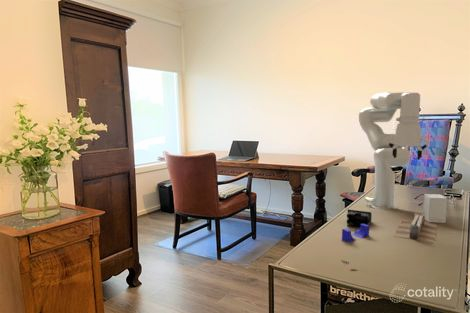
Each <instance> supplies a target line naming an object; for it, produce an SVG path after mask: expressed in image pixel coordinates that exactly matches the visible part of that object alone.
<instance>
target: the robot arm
mask: <svg viewBox="0 0 470 313" xmlns="http://www.w3.org/2000/svg"><path fill="white" fill-rule="evenodd" d="M420 104H421V94H420V93H419V92H403V91H401V92H400V91H399V92H389V91H387V92H379V93H378V92H377V93H376V94H374V95H372V96H371V98H370V105H371V107H365V108H363V109H361V110H360V112H359V114H358V122H359V126H360V127H361V129H362V131H364V134H365V135H366V136H367V139H368V141H369V144H370V146H371V148H372V149H373V151H374V152H373V162H374V189H373V190H374V194H373V197H372V198H371V197H365V202H367V203H370V208H373V209H377V210H384V211H386V210H387V211H389V210H391V209H393V210H394V209H396V210H397V208H398V206H397V205H396V204H394V202H395V200H394V199H395V181H396V180H395V178H396V177H395V173H394V171H393V170H392V168H391V167H405V166H408V165H409V164H410V163H411V160H412V159H411V158H412V157H411V152H410V150H409V148H408V147H416V148H417V149H418V150H417V158H416V159H417V160H418V161H419V160H421V159H422V157H423V150H424V149H427V147H428V145H429V144H430V142H431V141H430V139H427V138H425V137H423V136H422V130H421V129H422V128H421V123H420V122H419V121H420V120H419V118H420V107H421V105H420ZM398 110H400V111H399V117H396V118H395V119H396V120H395V121H396V122H399V123H397V124H396V129H395V133H385V132H384V131H383V129H382V127H381V126H380V125H379V124H377V123H389V122H390V121H392V119H393V118H394V116H395V114H396V112H397V111H398ZM421 142H424V145H421Z"/></svg>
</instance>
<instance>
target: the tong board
mask: <svg viewBox="0 0 470 313" xmlns="http://www.w3.org/2000/svg"><path fill="white" fill-rule="evenodd" d="M412 222H413V220H409V219H404V218H403V219H401V221H400V222H399V225H398V227H397V229H396V230H395V231H394V235H393V237H396V238H401V239H407V240H410V241H411V240H413V241H418V242H424V243H429V244H435V239H436V235H437V231H438V226H439V225H438V224H434V223H430V222H424V224H422V227H421V230H420V233H419V236H418V226H417V225H411V224H412Z"/></svg>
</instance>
